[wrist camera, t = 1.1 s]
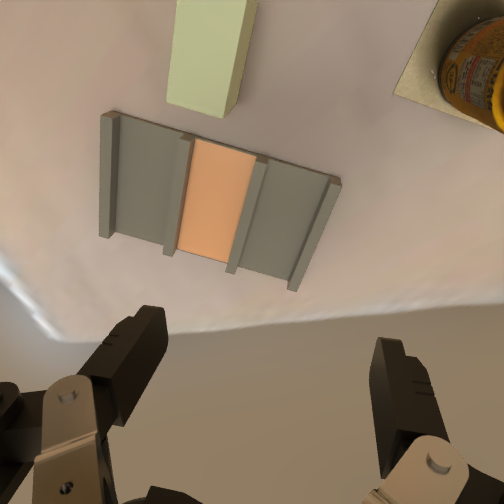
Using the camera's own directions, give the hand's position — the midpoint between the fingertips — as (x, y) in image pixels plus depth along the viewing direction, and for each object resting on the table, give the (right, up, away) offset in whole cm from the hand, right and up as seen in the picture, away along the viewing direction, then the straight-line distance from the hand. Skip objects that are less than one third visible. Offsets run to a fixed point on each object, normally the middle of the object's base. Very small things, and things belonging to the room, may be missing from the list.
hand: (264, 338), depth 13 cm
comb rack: (-4, +8, +21) cm, 23 cm away
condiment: (+16, +17, +12) cm, 26 cm away
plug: (-3, +19, +14) cm, 24 cm away
